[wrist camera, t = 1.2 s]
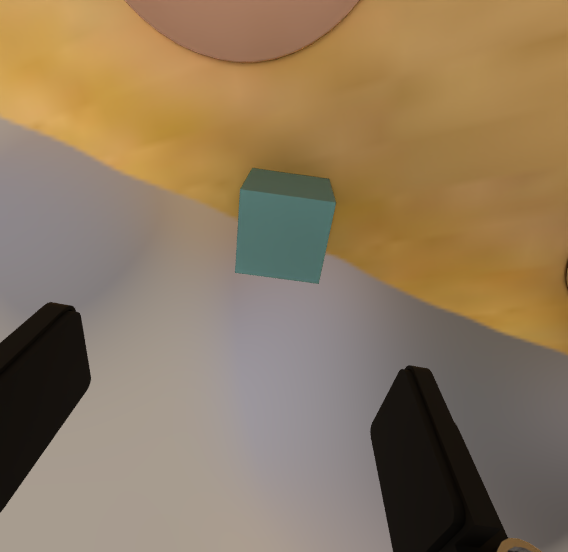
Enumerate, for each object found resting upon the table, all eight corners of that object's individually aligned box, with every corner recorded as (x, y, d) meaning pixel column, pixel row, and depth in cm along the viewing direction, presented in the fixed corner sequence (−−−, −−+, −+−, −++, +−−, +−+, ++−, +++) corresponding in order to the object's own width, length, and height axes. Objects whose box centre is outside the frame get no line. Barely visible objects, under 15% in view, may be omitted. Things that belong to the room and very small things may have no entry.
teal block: (329, 178, 25) (336, 202, 20) (315, 247, 29) (318, 283, 23) (252, 167, 25) (240, 189, 20) (247, 238, 28) (235, 272, 23)
